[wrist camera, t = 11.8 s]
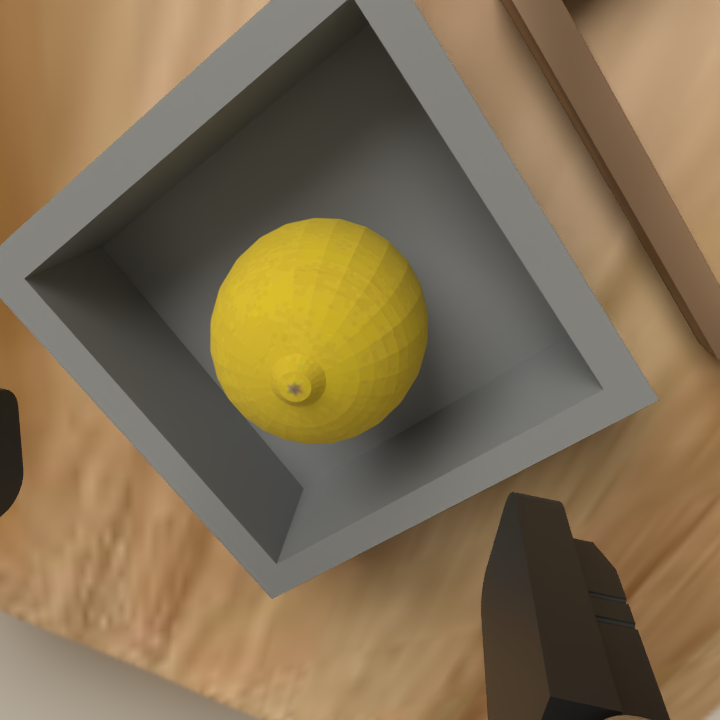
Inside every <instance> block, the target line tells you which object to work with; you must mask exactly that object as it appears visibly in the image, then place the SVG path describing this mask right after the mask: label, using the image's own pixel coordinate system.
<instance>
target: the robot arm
mask: <svg viewBox="0 0 720 720" xmlns="http://www.w3.org/2000/svg"><path fill="white" fill-rule="evenodd" d="M22 480H23V461H22V448H21V436H20V423H19V411H18V402H17V399H16V397H15V395H14V394H13V393H12V392H11V391H9V390H6V389H1V388H0V517H1V516H2V515H3V514H4V513H5V512H6V511H7V510H8V509H9V508H10V507H11V505H12V504H13V503H14V501H15V499H16V497H17V495H18V493H19V491H20V488H21V485H22ZM481 617H482V633H483V648H484V663H485V679H486V694H487V710H488V720H670V718H669V715H668V713H667V710H666V707H665V704H664V702H663V699H662V696H661V693H660V690H659V688H658V685H657V682H656V679H655V677H654V674H653V671H652V668H651V665H650V663H649V660H648V657H647V654H646V652H645V649H644V646H643V643H642V641H641V638H640V635H639V632H638V630H636V629H635V621H634V618H633V616H632V613H631V610H630V607H629V605H628V604H626V596H625V593H624V591H623V588H622V585H621V582H620V580H619V577H618V574H617V571H616V569H615V568H614V567H613V566H612V564H611V563H610V562H609V561H608V560H607V558H606V557H605V556H604V555H603V554H602V553H601V551H600V550H599V549H598V548H597V547H596V545H595V544H594V543H593V542H588V541H583V540H578V539H573V537H572V534H571V530H570V527H569V523H568V520H567V516H566V513H565V509H564V506H563V504H562V503H561V502H559V501H554V500H549V499H544V498H539V497H534V496H529V495H524V494H519V493H514V492H512V493H510V495H509V496H508V498H507V501H506V504H505V507H504V510H503V514H502V517H501V521H500V524H499V527H498V531H497V534H496V538H495V541H494V545H493V548H492V551H491V555H490V558H489V562H488V565H487V569H486V572H485V577H484V582H483V589H482V599H481Z"/></svg>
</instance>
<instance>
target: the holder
mask: <svg viewBox="0 0 720 720" xmlns="http://www.w3.org/2000/svg"><path fill="white" fill-rule="evenodd" d="M501 1H502V2H503V4H504V6H505V8H506V9H507V11H508V13H509V14H510V16H511V18H512V20H513V21H514V23H515V25H516V27H517V28H518V30H519V32H520V34H521V35H522V37H523V39H524V40H525V42H526V44H527V46H528V47H529V49H530V51H531V53H532V54H533V56H534V58H535V59H536V61H537V63H538V65H539V66H540V68H541V70H542V72H543V73H544V75H545V77H546V79H547V80H548V82H549V84H550V85H551V87H552V89H553V91H554V92H555V94H556V96H557V98H558V99H559V101H560V103H561V104H562V106H563V108H564V110H565V111H566V113H567V115H568V117H569V118H570V120H571V122H572V123H573V125H574V127H575V129H576V130H577V132H578V134H579V136H580V137H581V139H582V141H583V143H584V144H585V146H586V148H587V149H588V151H589V153H590V155H591V156H592V158H593V160H594V162H595V163H596V165H597V167H598V168H599V170H600V172H601V174H602V175H603V177H604V179H605V181H606V182H607V184H608V186H609V188H610V189H611V191H612V193H613V194H614V196H615V198H616V200H617V201H618V203H619V205H620V207H621V208H622V210H623V212H624V213H625V215H626V217H627V219H628V220H629V222H630V224H631V226H632V227H633V229H634V231H635V232H636V234H637V236H638V238H639V239H640V241H641V243H642V245H643V246H644V248H645V250H646V252H647V253H648V255H649V257H650V258H651V260H652V262H653V264H654V265H655V267H656V269H657V271H658V272H659V274H660V276H661V277H662V279H663V281H664V283H665V284H666V286H667V288H668V290H669V291H670V293H671V295H672V297H673V298H674V300H675V302H676V303H677V305H678V307H679V309H680V310H681V312H682V314H683V316H684V317H685V319H686V321H687V322H688V324H689V326H690V328H691V329H692V331H693V333H694V335H695V336H696V338H697V340H698V341H699V343H700V344H701V345H702V346H703V347H705V348H706V349H707V350H708V351H709V352H710V353H711V354H712V355H713V356H715V357H716V358H717V359H718V360H719V359H720V285H719V284H718V282H717V280H716V278H715V276H714V274H713V273H712V271H711V269H710V267H709V265H708V264H707V262H706V260H705V258H704V256H703V255H702V253H701V251H700V249H699V247H698V246H697V244H696V242H695V240H694V238H693V236H692V235H691V233H690V231H689V229H688V227H687V226H686V224H685V222H684V220H683V218H682V217H681V215H680V213H679V211H678V209H677V207H676V206H675V204H674V202H673V200H672V198H671V197H670V195H669V193H668V191H667V189H666V188H665V186H664V184H663V182H662V180H661V179H660V177H659V175H658V173H657V171H656V169H655V168H654V166H653V164H652V162H651V160H650V159H649V157H648V155H647V153H646V151H645V150H644V148H643V146H642V144H641V142H640V140H639V139H638V137H637V135H636V133H635V131H634V130H633V128H632V126H631V124H630V122H629V121H628V119H627V117H626V115H625V113H624V112H623V110H622V108H621V106H620V104H619V102H618V101H617V99H616V97H615V95H614V93H613V92H612V90H611V88H610V86H609V84H608V83H607V81H606V79H605V77H604V75H603V74H602V72H601V70H600V68H599V66H598V64H597V63H596V61H595V59H594V57H593V55H592V54H591V52H590V50H589V48H588V46H587V45H586V43H585V41H584V39H583V37H582V35H581V34H580V32H579V30H578V28H577V26H576V25H575V23H574V21H573V19H572V17H571V16H570V14H569V12H568V10H567V8H566V7H565V5H564V3H563V1H562V0H501Z"/></svg>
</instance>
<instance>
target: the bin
mask: <svg viewBox="0 0 720 720" xmlns="http://www.w3.org/2000/svg"><path fill="white" fill-rule="evenodd" d="M311 218H330V219H343V220H346V221H349V222H352V223H356V224H359V225H362V226H365V227H368V228H369V229H371V230H372V231H374V232H376V233H377V234H379V235H380V236H382V237H384V238H385V239H387V240H388V241H389V242H390V243H391V244H392V245H393V246H394V247H395V248H396V249H397V250H398V251H399V252H400V253H401V254H402V255H403V256H404V257H405V258H406V259H407V261H408V262H409V264H410V266H411V268H412V269H413V271H414V273H415V275H416V276H417V278H418V280H419V282H420V284H421V287H422V291H423V295H424V299H425V303H426V307H427V311H428V340H427V346H426V350H425V353H424V357H423V360H422V364H421V368H420V371H419V373H418V375H417V377H416V379H415V381H414V382H413V384H412V385H411V387H410V389H409V390H408V392H407V394H406V395H405V397H404V399H403V400H402V401H401V403H400V404H399V405H398V406H397V407H396V408H395V409H394V410H393V411H392V412H390V413H389V414H388V415H387V416H386V417H385V418H384V419H383V420H382V421H381V422H380V423H379V424H377V425H375V426H374V427H372V428H370V429H368V430H367V431H365V432H363V433H361V434H360V435H358V436H356V437H353V438H349V439H346V440H342V441H339V442H335V443H327V444H305V443H299V442H294V441H288V440H284V439H282V438H279V437H277V436H275V435H272V434H270V433H268V432H265V431H263V430H262V429H261V428H259V427H258V426H256V425H255V424H254V423H252V422H251V421H249V420H248V419H247V418H245V417H244V416H243V415H242V414H241V412H240V411H239V410H238V409H237V408H236V407H235V406H234V405H233V404H232V402H231V401H230V400H229V399H228V397H227V395H226V393H225V391H224V390H223V388H222V386H221V384H220V382H219V380H218V378H217V375H216V371H215V367H214V363H213V359H212V355H211V351H210V348H211V317H212V314H213V310H214V306H215V303H216V299H217V296H218V292H219V289H220V287H221V285H222V283H223V282H224V280H225V278H226V277H227V275H228V273H229V272H230V270H231V269H232V267H233V265H234V264H235V262H236V260H237V259H238V258H239V257H240V256H241V255H242V254H243V253H244V252H245V251H246V250H247V249H249V248H250V247H251V246H252V245H253V244H254V243H255V242H256V241H257V240H258V239H259V238H261V237H262V236H264V235H266V234H268V233H270V232H272V231H274V230H276V229H278V228H279V227H281V226H283V225H285V224H288V223H293V222H297V221H302V220H307V219H311ZM0 298H1V299H2V300H3V302H4V303H5V304H6V305H7V306H8V307H9V308H10V309H11V310H12V312H13V313H14V314H15V315H16V316H17V317H18V318H19V319H20V320H21V322H22V323H23V324H24V325H25V326H26V327H27V328H28V329H29V330H30V332H31V333H32V334H33V335H34V336H35V337H36V338H37V339H38V340H39V341H40V343H41V344H42V345H43V346H44V347H45V348H46V349H47V350H48V351H49V353H50V354H51V355H52V356H53V357H54V358H55V359H56V360H57V361H58V363H59V364H60V365H61V366H62V367H63V368H64V369H65V370H66V371H67V372H68V374H69V375H70V376H71V377H72V378H73V379H74V380H75V381H76V382H77V384H78V385H79V386H80V387H81V388H82V389H83V390H84V391H85V392H86V394H87V395H88V396H89V397H90V398H91V399H92V400H93V401H94V402H95V403H96V405H97V406H98V407H99V408H100V409H101V410H102V411H103V412H104V413H105V415H106V416H107V417H108V418H109V419H110V420H111V421H112V422H113V423H114V425H115V426H116V427H117V428H118V429H119V430H120V431H121V432H122V433H123V434H124V436H125V437H126V438H127V439H128V440H129V441H130V442H131V443H132V444H133V446H134V447H135V448H136V449H137V450H138V451H139V452H140V453H141V454H142V456H143V457H144V458H145V459H146V460H147V461H148V462H149V463H150V464H151V466H152V467H153V468H154V469H155V470H156V471H157V472H158V473H159V474H160V475H161V477H162V478H163V479H164V480H165V481H166V482H167V483H168V484H169V485H170V487H171V488H172V489H173V490H174V491H175V492H176V493H177V494H178V495H179V497H180V498H181V499H182V500H183V501H184V502H185V503H186V504H187V505H188V506H189V508H190V509H191V510H192V511H193V512H194V513H195V514H196V515H197V516H198V518H199V519H200V520H201V521H202V522H203V523H204V524H205V525H206V526H207V528H208V529H209V530H210V531H211V532H212V533H213V534H214V535H215V536H216V537H217V539H218V540H219V541H220V542H221V543H222V544H223V545H224V546H225V547H226V549H227V550H228V551H229V552H230V553H231V554H232V555H233V556H234V557H235V559H236V560H237V561H238V562H239V563H240V564H241V565H242V566H243V567H244V569H245V570H246V571H247V572H248V573H249V574H250V575H251V576H252V577H253V578H254V580H255V581H256V582H257V583H258V584H259V585H260V586H261V587H262V588H263V590H264V591H265V592H266V593H267V594H268V595H269V596H270V597H271V598H272V599H273V598H275V597H277V596H279V595H281V594H282V593H284V592H286V591H288V590H290V589H292V588H294V587H296V586H298V585H300V584H302V583H304V582H306V581H308V580H310V579H312V578H314V577H316V576H317V575H319V574H321V573H323V572H325V571H327V570H329V569H331V568H333V567H335V566H337V565H339V564H341V563H343V562H345V561H347V560H349V559H351V558H353V557H354V556H356V555H358V554H360V553H362V552H364V551H366V550H368V549H370V548H372V547H374V546H376V545H378V544H380V543H382V542H384V541H386V540H388V539H390V538H391V537H393V536H395V535H397V534H399V533H401V532H403V531H405V530H407V529H409V528H411V527H413V526H415V525H417V524H419V523H421V522H423V521H425V520H426V519H428V518H430V517H432V516H434V515H436V514H438V513H440V512H442V511H444V510H446V509H448V508H450V507H452V506H454V505H456V504H458V503H460V502H462V501H463V500H465V499H467V498H469V497H471V496H473V495H475V494H477V493H479V492H481V491H483V490H485V489H487V488H489V487H491V486H493V485H495V484H497V483H499V482H500V481H502V480H504V479H506V478H508V477H510V476H512V475H514V474H516V473H518V472H520V471H522V470H524V469H526V468H528V467H530V466H532V465H534V464H535V463H537V462H539V461H541V460H543V459H545V458H547V457H549V456H551V455H553V454H555V453H557V452H559V451H561V450H563V449H565V448H567V447H569V446H571V445H572V444H574V443H576V442H578V441H580V440H582V439H584V438H586V437H588V436H590V435H592V434H594V433H596V432H598V431H600V430H602V429H604V428H606V427H608V426H609V425H611V424H613V423H615V422H617V421H619V420H621V419H623V418H625V417H627V416H629V415H631V414H633V413H635V412H637V411H639V410H641V409H643V408H644V407H646V406H648V405H650V404H652V403H654V402H656V401H658V400H659V399H658V397H657V396H656V394H655V392H654V391H653V389H652V388H651V386H650V384H649V383H648V381H647V379H646V378H645V376H644V375H643V373H642V371H641V370H640V368H639V366H638V365H637V363H636V362H635V360H634V358H633V357H632V355H631V353H630V352H629V350H628V349H627V347H626V345H625V344H624V342H623V340H622V339H621V337H620V336H619V334H618V332H617V331H616V329H615V327H614V326H613V324H612V323H611V321H610V319H609V318H608V316H607V314H606V313H605V311H604V310H603V308H602V306H601V305H600V303H599V301H598V300H597V298H596V297H595V295H594V293H593V292H592V290H591V288H590V287H589V285H588V284H587V282H586V280H585V279H584V277H583V275H582V274H581V272H580V271H579V269H578V267H577V266H576V264H575V262H574V261H573V259H572V258H571V256H570V254H569V253H568V251H567V249H566V248H565V246H564V245H563V243H562V241H561V240H560V238H559V236H558V235H557V233H556V232H555V230H554V228H553V227H552V225H551V223H550V222H549V220H548V219H547V217H546V215H545V214H544V212H543V210H542V209H541V207H540V206H539V204H538V202H537V201H536V199H535V197H534V196H533V194H532V193H531V191H530V189H529V188H528V186H527V184H526V183H525V181H524V180H523V178H522V176H521V175H520V173H519V171H518V170H517V168H516V167H515V165H514V163H513V162H512V160H511V158H510V157H509V155H508V154H507V152H506V150H505V149H504V147H503V145H502V144H501V142H500V141H499V139H498V137H497V136H496V134H495V132H494V131H493V129H492V128H491V126H490V124H489V123H488V121H487V119H486V118H485V116H484V115H483V113H482V111H481V110H480V108H479V106H478V105H477V103H476V101H475V100H474V98H473V97H472V95H471V93H470V92H469V90H468V88H467V87H466V85H465V84H464V82H463V80H462V79H461V77H460V75H459V74H458V72H457V71H456V69H455V67H454V66H453V64H452V62H451V61H450V59H449V58H448V56H447V54H446V53H445V51H444V49H443V48H442V46H441V45H440V43H439V41H438V40H437V38H436V36H435V35H434V33H433V32H432V30H431V28H430V27H429V25H428V23H427V22H426V20H425V19H424V17H423V15H422V14H421V12H420V10H419V9H418V7H417V6H416V4H415V2H414V1H413V0H271V1H270V2H269V3H268V4H266V5H265V6H264V7H263V8H262V9H261V10H260V11H259V12H258V13H256V14H255V15H254V16H253V17H252V18H251V19H250V20H249V21H248V22H247V23H245V24H244V25H243V26H242V27H241V28H240V29H239V30H238V31H237V32H235V33H234V34H233V35H232V36H231V37H230V38H229V39H228V40H227V41H226V42H224V43H223V44H222V45H221V46H220V47H219V48H218V49H217V50H216V51H214V52H213V53H212V54H211V55H210V56H209V57H208V58H207V59H206V60H205V61H203V62H202V63H201V64H200V65H199V66H198V67H197V68H196V69H195V70H194V71H192V72H191V73H190V74H189V75H188V76H187V77H186V78H185V79H184V80H182V81H181V82H180V83H179V84H178V85H177V86H176V87H175V88H174V89H173V90H171V91H170V92H169V93H168V94H167V95H166V96H165V97H164V98H163V99H161V100H160V101H159V102H158V103H157V104H156V105H155V106H154V107H153V108H152V109H150V110H149V111H148V112H147V113H146V114H145V115H144V116H143V117H142V118H140V119H139V120H138V121H137V122H136V123H135V124H134V125H133V126H132V127H131V128H129V129H128V130H127V131H126V132H125V133H124V134H123V135H122V136H121V137H119V138H118V139H117V140H116V141H115V142H114V143H113V144H112V145H111V146H110V147H108V148H107V149H106V150H105V151H104V152H103V153H102V154H101V155H100V156H99V157H97V158H96V159H95V160H94V161H93V162H92V163H91V164H90V165H89V166H87V167H86V168H85V169H84V170H83V171H82V172H81V173H80V174H79V175H78V176H76V177H75V178H74V179H73V180H72V181H71V182H70V183H69V184H68V185H66V186H65V187H64V188H63V189H62V190H61V191H60V192H59V193H58V194H57V195H55V196H54V197H53V198H52V199H51V200H50V201H49V202H48V203H47V204H45V205H44V206H43V207H42V208H41V209H40V210H39V211H38V212H37V213H36V214H34V215H33V216H32V217H31V218H30V219H29V220H28V221H27V222H26V223H25V224H23V225H22V226H21V227H20V228H19V229H18V230H17V231H16V232H15V233H13V234H12V235H11V236H10V237H9V238H8V239H7V240H6V241H5V242H4V243H2V244H1V245H0Z"/></svg>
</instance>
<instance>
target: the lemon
mask: <svg viewBox="0 0 720 720" xmlns="http://www.w3.org/2000/svg"><path fill="white" fill-rule="evenodd" d="M427 340H428V311H427V307H426V303H425V299H424V295H423V291H422V287H421V284H420V282H419V280H418V278H417V276H416V275H415V273H414V271H413V269H412V268H411V266H410V264H409V262H408V261H407V259H406V258H405V257H404V256H403V255H402V254H401V253H400V252H399V251H398V250H397V249H396V248H395V247H394V246H393V245H392V244H391V243H390V242H389V241H388V240H387V239H385V238H384V237H382V236H380V235H379V234H377V233H376V232H374V231H372V230H371V229H369V228H368V227H365V226H362V225H359V224H356V223H352V222H349V221H346V220H343V219H330V218H311V219H307V220H302V221H297V222H293V223H288V224H285V225H283V226H281V227H279V228H278V229H276V230H274V231H272V232H270V233H268V234H266V235H264V236H262V237H261V238H259V239H258V240H257V241H256V242H255V243H254V244H253V245H252V246H251V247H250V248H249V249H247V250H246V251H245V252H244V253H243V254H242V255H241V256H240V257H239V258H238V259H237V260H236V262H235V264H234V265H233V267H232V269H231V270H230V272H229V273H228V275H227V277H226V278H225V280H224V282H223V283H222V285H221V287H220V289H219V292H218V296H217V299H216V303H215V306H214V310H213V314H212V317H211V348H210V351H211V355H212V359H213V363H214V367H215V371H216V375H217V378H218V380H219V382H220V384H221V386H222V388H223V390H224V391H225V393H226V395H227V397H228V399H229V400H230V401H231V402H232V404H233V405H234V406H235V407H236V408H237V409H238V410H239V411H240V412H241V414H242V415H243V416H244V417H245V418H247V419H248V420H249V421H251V422H252V423H254V424H255V425H256V426H258V427H259V428H261V429H262V430H263V431H265V432H268V433H270V434H272V435H275V436H277V437H279V438H282V439H284V440H288V441H294V442H299V443H305V444H327V443H335V442H339V441H342V440H346V439H349V438H353V437H356V436H358V435H360V434H361V433H363V432H365V431H367V430H368V429H370V428H372V427H374V426H375V425H377V424H379V423H380V422H381V421H382V420H383V419H384V418H385V417H386V416H387V415H388V414H389V413H390V412H392V411H393V410H394V409H395V408H396V407H397V406H398V405H399V404H400V403H401V401H402V400H403V399H404V397H405V395H406V394H407V392H408V390H409V389H410V387H411V385H412V384H413V382H414V381H415V379H416V377H417V375H418V373H419V371H420V368H421V364H422V360H423V357H424V353H425V350H426V346H427Z"/></svg>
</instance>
